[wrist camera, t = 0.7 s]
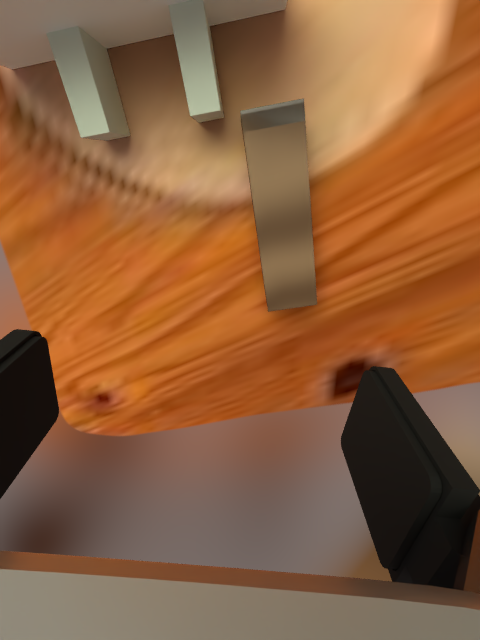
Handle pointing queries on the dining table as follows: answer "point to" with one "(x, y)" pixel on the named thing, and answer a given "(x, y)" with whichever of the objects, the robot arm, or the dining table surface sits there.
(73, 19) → the pale grey legged piece
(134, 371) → the dining table surface
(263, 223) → the rail
